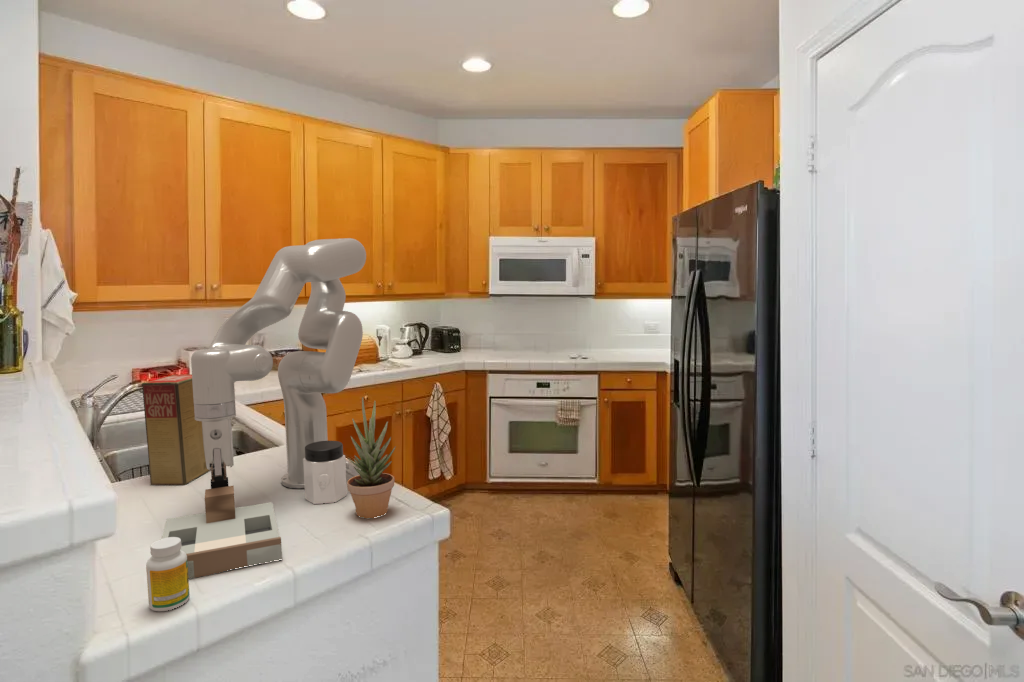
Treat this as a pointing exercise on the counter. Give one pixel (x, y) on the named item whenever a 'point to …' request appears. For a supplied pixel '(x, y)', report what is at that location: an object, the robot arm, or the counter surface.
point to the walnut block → (219, 504)
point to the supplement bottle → (167, 575)
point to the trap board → (227, 539)
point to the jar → (324, 472)
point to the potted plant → (371, 471)
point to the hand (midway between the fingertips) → (220, 497)
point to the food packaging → (173, 431)
